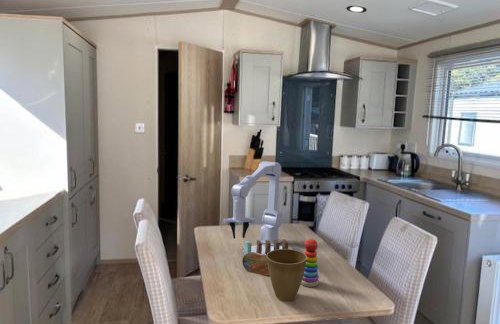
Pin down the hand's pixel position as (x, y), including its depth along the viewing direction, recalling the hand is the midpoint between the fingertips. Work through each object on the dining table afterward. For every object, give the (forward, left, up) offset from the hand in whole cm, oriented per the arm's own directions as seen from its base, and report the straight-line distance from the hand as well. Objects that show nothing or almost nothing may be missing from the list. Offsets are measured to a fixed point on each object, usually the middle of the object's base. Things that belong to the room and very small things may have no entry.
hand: (238, 237), depth 179 cm
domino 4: (+13, +13, -9) cm, 21 cm away
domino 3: (+10, +10, -9) cm, 17 cm away
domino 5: (+16, +16, -9) cm, 25 cm away
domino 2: (+7, +7, -9) cm, 14 cm away
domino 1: (+3, +3, -9) cm, 10 cm away
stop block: (+20, +20, -9) cm, 30 cm away
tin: (+18, -9, -10) cm, 22 cm away
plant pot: (+38, -21, -10) cm, 44 cm away
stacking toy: (+40, -5, -10) cm, 41 cm away
